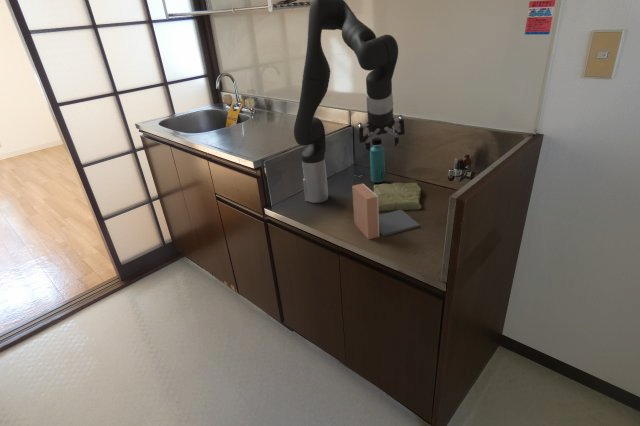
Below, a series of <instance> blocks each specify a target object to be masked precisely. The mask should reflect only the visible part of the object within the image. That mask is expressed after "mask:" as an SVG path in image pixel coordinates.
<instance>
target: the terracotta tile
mask: <svg viewBox="0 0 640 426" xmlns="http://www.w3.org/2000/svg"><path fill="white" fill-rule="evenodd" d="M351 187H352V189H351V190H352V205H353V221H354V222H353V223H354V225H355V226H356V227H357V228H358V230H360V232H361V233H362V234H363V235H364V237H366V238H367V240H371V239H375V238H380V233H379V215H380V213H379V212H380V211H379V208H378V196H377V195H376V194H375V193H374V191H373V190H371V189H370V188H369V187H368V186H367V185H366V184H364V183H358V184H354V185H352V186H351Z"/></svg>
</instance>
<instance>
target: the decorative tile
mask: <svg viewBox="0 0 640 426" xmlns="http://www.w3.org/2000/svg"><path fill="white" fill-rule="evenodd" d="M421 190H422V188H421V187H420V185H418V183H417V182H392V183H381V184H374V185H373V192H374V193H375V194H376V195H377V196H378V208H379V212H386V211H387V212H393V211H397V210H402V211H408V210H411V211H412V210H421V209H422V204H420V199H421V193H422V191H421Z"/></svg>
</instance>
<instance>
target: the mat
mask: <svg viewBox="0 0 640 426" xmlns="http://www.w3.org/2000/svg"><path fill="white" fill-rule="evenodd" d="M417 228H420V223H418V222H417V221H416V220H415V219H413V218H412V217H411V216H410V215H409V214H407V213H406V212H405V210H392V211H388V212H384V213H381V214H379V235H381V237H387V236H389V235H395V234H397V233H402V232H404V231H408V230H412V229H417Z"/></svg>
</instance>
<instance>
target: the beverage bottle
mask: <svg viewBox="0 0 640 426" xmlns="http://www.w3.org/2000/svg"><path fill="white" fill-rule="evenodd" d="M382 142H383V141H382V138H381V137H374V138H373V139H371V145H372V146H370V151H369V162H370V163H369V165H370V166H369V167H370V168H369V169H370V170H369V171H370V180H371V182H373V183H382V182H385V180H386V177H387V176H386V164H385V163H386V158H385V156H386V155H385V148H384V146H383V145H381V144H382Z"/></svg>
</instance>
